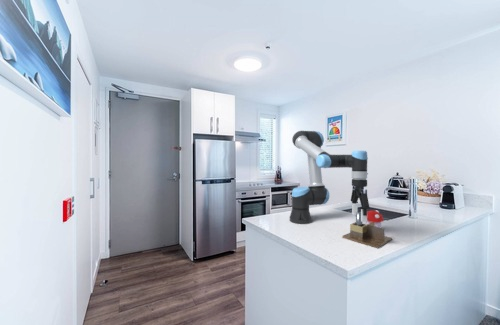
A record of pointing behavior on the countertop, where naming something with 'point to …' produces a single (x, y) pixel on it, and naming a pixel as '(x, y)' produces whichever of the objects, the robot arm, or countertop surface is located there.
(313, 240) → the countertop surface
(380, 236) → the square socket plate
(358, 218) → the pin
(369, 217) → the mushroom
